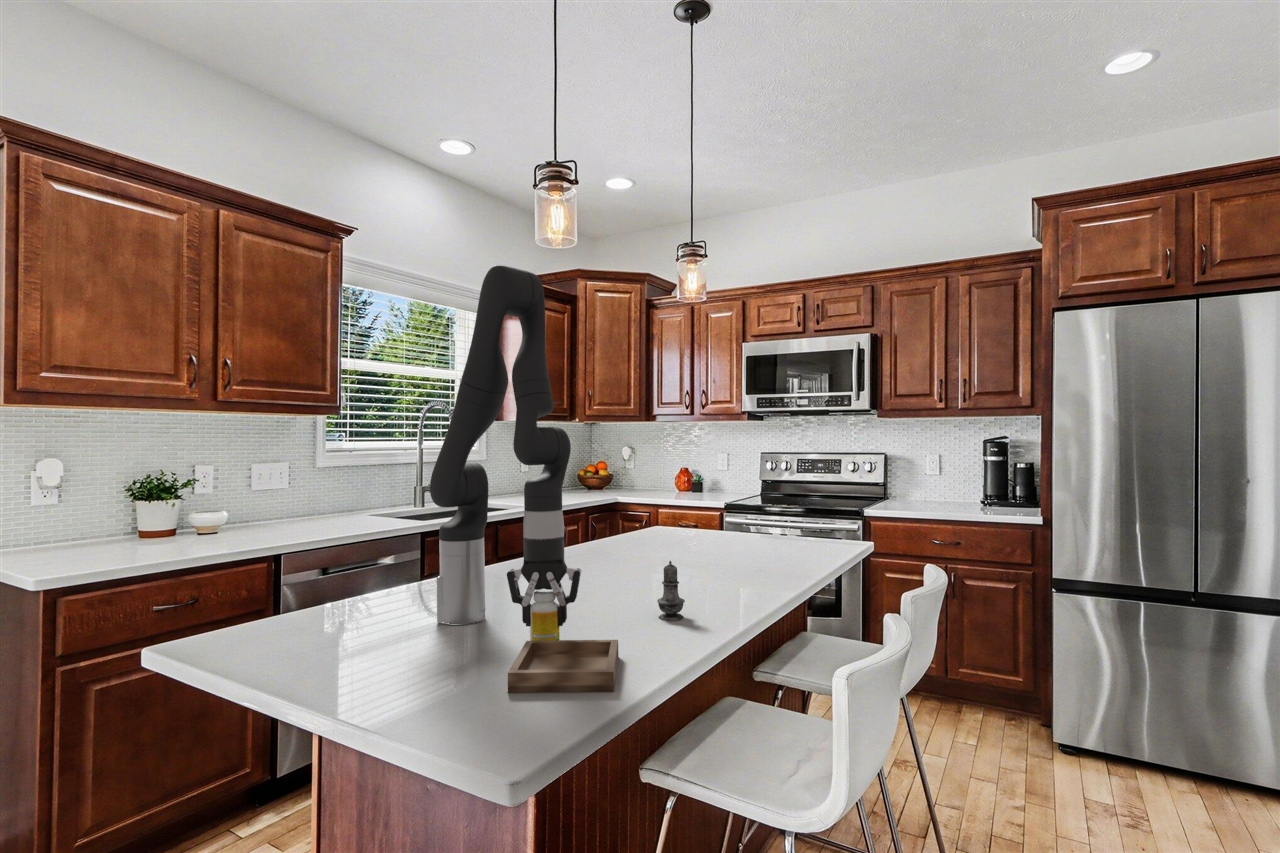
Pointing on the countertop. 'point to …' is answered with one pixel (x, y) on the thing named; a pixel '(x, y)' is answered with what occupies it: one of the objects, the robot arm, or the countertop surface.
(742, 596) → the countertop surface
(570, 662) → the tray
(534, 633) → the supplement bottle
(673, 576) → the salt shaker
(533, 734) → the countertop surface
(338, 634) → the countertop surface
